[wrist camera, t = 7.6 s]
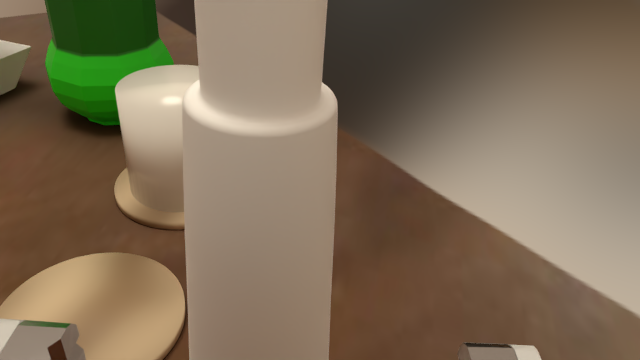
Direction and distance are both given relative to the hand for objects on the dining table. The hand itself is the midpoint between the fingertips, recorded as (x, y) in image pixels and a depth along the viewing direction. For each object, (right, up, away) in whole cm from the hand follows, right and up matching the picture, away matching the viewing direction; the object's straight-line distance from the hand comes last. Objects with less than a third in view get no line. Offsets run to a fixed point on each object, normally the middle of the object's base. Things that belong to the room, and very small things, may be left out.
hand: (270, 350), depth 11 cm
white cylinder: (-8, +4, +25) cm, 27 cm away
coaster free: (-10, -3, +15) cm, 19 cm away
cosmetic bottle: (-1, -8, +10) cm, 13 cm away
